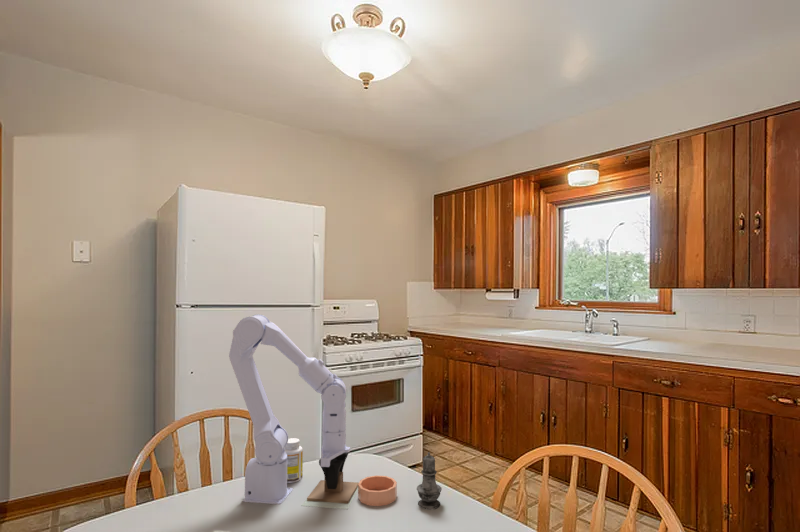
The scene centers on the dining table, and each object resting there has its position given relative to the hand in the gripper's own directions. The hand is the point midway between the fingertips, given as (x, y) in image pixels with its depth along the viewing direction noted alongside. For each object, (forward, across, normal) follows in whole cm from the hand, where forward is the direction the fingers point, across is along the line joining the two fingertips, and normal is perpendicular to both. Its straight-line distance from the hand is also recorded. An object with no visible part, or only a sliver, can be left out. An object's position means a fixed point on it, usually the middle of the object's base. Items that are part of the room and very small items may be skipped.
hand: (333, 485), depth 111 cm
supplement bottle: (+2, +6, +14) cm, 15 cm away
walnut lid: (+2, 0, 0) cm, 2 cm away
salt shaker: (+2, -2, -24) cm, 24 cm away
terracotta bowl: (+2, 0, -11) cm, 11 cm away
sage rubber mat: (+2, 0, 0) cm, 2 cm away
